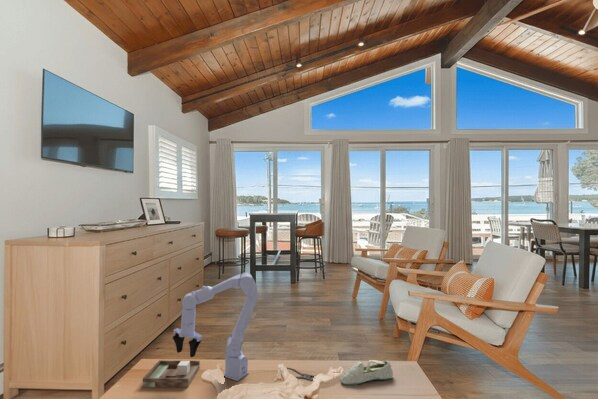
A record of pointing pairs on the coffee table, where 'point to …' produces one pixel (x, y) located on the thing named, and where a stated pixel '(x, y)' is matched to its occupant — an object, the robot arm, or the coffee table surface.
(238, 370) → the robot arm
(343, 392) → the coffee table surface
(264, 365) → the coffee table surface
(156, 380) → the wooden tray
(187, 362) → the cream block
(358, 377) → the ballet flat
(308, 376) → the pliers
